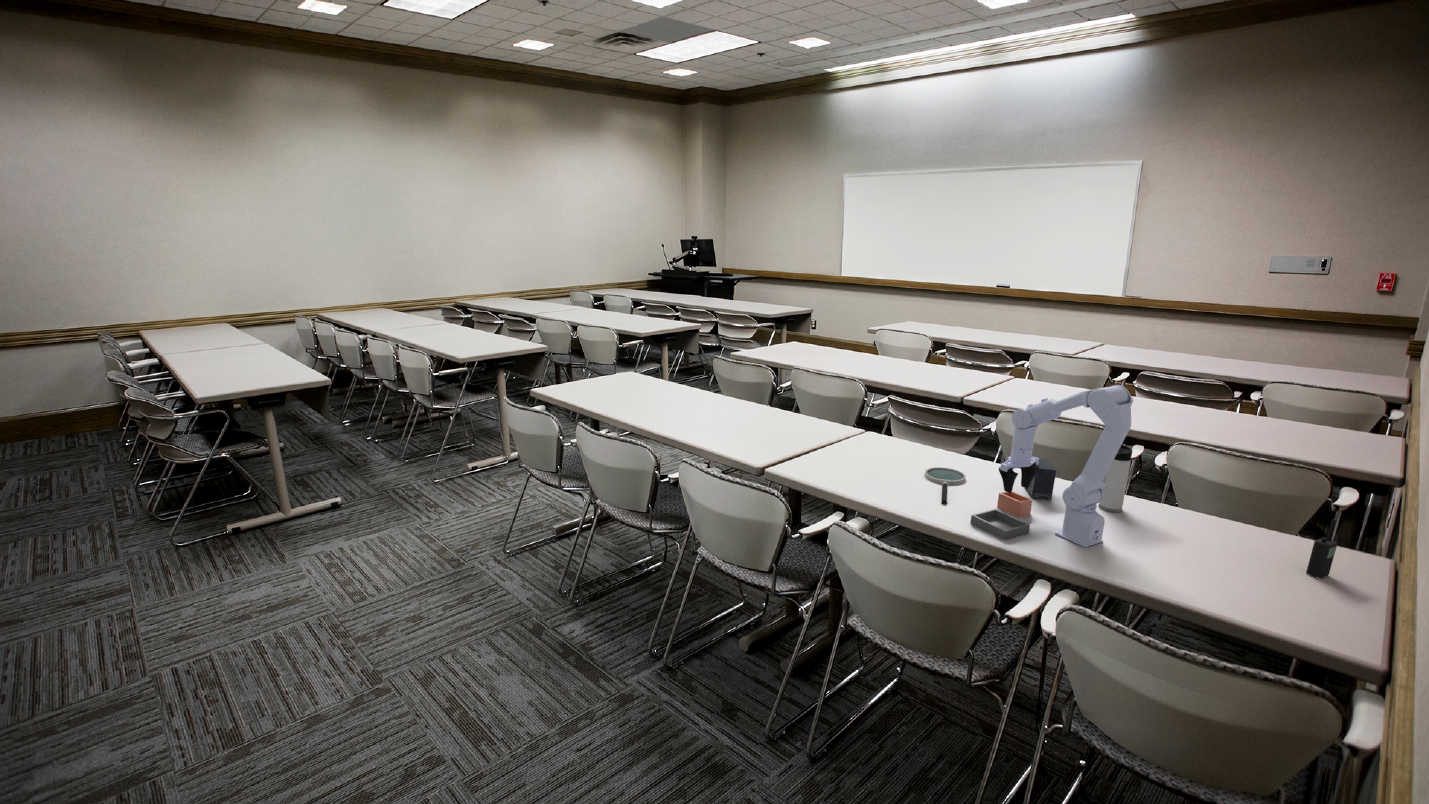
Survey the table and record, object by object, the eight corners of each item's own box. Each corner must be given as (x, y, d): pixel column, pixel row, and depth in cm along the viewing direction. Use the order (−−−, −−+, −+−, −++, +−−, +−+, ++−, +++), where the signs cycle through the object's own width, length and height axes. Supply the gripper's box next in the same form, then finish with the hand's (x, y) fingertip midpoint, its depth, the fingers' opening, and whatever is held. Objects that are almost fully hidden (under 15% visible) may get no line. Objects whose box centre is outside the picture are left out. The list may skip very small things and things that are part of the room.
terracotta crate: (1030, 514, 203) (1032, 499, 202) (1018, 518, 201) (1021, 502, 199) (1008, 505, 210) (1010, 490, 208) (997, 508, 208) (998, 493, 206)
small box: (1053, 500, 213) (1057, 469, 211) (1031, 498, 214) (1035, 468, 212) (1044, 488, 223) (1048, 458, 221) (1023, 486, 224) (1027, 457, 222)
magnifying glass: (921, 502, 212) (922, 497, 211) (925, 470, 240) (925, 464, 240) (966, 508, 208) (967, 502, 207) (964, 474, 236) (965, 469, 235)
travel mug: (1124, 508, 208) (1135, 447, 203) (1118, 514, 204) (1130, 452, 198) (1101, 502, 212) (1112, 442, 207) (1096, 508, 208) (1106, 447, 202)
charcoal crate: (1028, 534, 191) (1030, 524, 190) (1004, 541, 186) (1005, 531, 185) (994, 518, 201) (995, 508, 200) (970, 524, 196) (971, 514, 196)
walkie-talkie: (1319, 579, 167) (1334, 524, 163) (1303, 573, 170) (1318, 518, 166) (1330, 575, 169) (1345, 521, 165) (1314, 569, 172) (1328, 515, 168)
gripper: (1027, 439, 206) (1021, 481, 210) (994, 446, 200) (988, 488, 204) (1047, 446, 200) (1041, 488, 204) (1014, 453, 194) (1008, 497, 198)
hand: (1016, 489), depth 203 cm, fingers open, 7 cm apart
